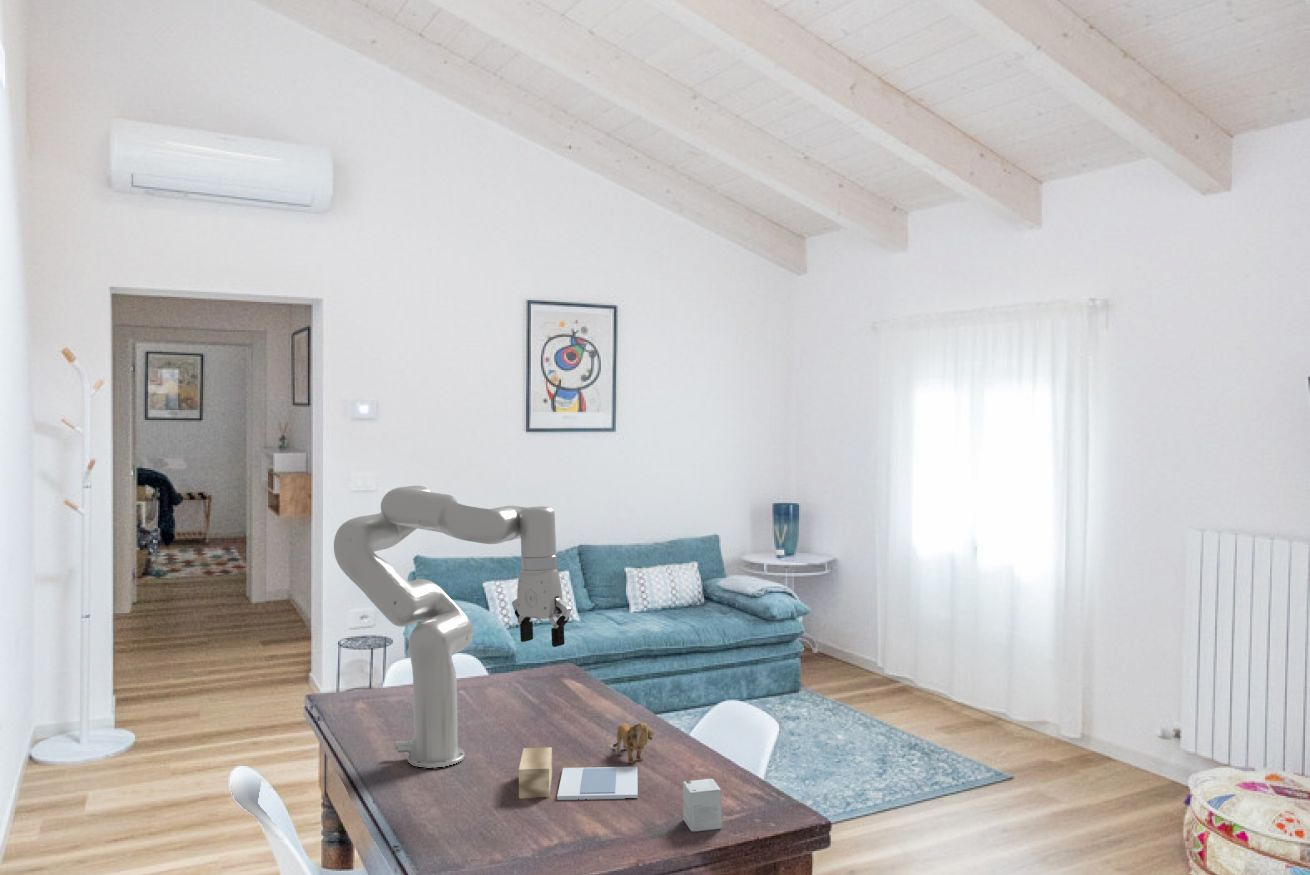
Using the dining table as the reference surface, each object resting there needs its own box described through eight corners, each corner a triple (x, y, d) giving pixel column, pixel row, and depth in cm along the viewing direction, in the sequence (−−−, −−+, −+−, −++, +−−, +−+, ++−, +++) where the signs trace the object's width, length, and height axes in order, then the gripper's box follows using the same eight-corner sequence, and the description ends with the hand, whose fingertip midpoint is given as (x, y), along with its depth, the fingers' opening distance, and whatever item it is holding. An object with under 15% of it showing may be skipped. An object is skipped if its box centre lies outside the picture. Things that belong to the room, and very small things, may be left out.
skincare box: (722, 829, 182) (722, 789, 181) (690, 832, 180) (690, 792, 180) (713, 816, 187) (713, 777, 187) (682, 819, 186) (682, 780, 186)
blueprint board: (557, 800, 196) (557, 795, 196) (563, 771, 212) (563, 767, 212) (637, 798, 197) (637, 793, 197) (637, 770, 213) (637, 765, 213)
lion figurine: (657, 764, 216) (657, 723, 216) (637, 769, 213) (636, 727, 213) (622, 746, 229) (622, 707, 229) (602, 750, 226) (602, 711, 226)
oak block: (519, 799, 197) (518, 769, 197) (523, 776, 210) (523, 748, 210) (549, 798, 198) (548, 768, 198) (552, 775, 211) (551, 747, 211)
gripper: (499, 564, 215) (502, 642, 216) (554, 568, 204) (558, 651, 204) (524, 559, 221) (527, 635, 221) (580, 564, 210) (583, 644, 210)
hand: (542, 643), depth 213 cm, fingers open, 9 cm apart
